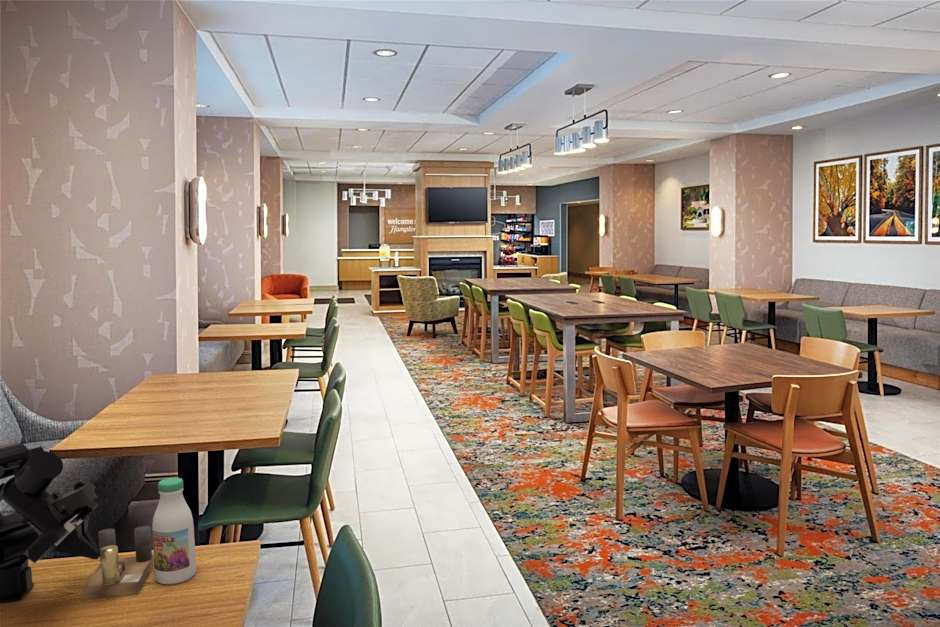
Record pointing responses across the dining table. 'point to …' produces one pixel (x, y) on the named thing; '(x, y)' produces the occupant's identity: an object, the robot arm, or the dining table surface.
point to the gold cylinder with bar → (110, 565)
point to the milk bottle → (173, 535)
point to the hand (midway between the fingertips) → (99, 557)
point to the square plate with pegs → (123, 567)
